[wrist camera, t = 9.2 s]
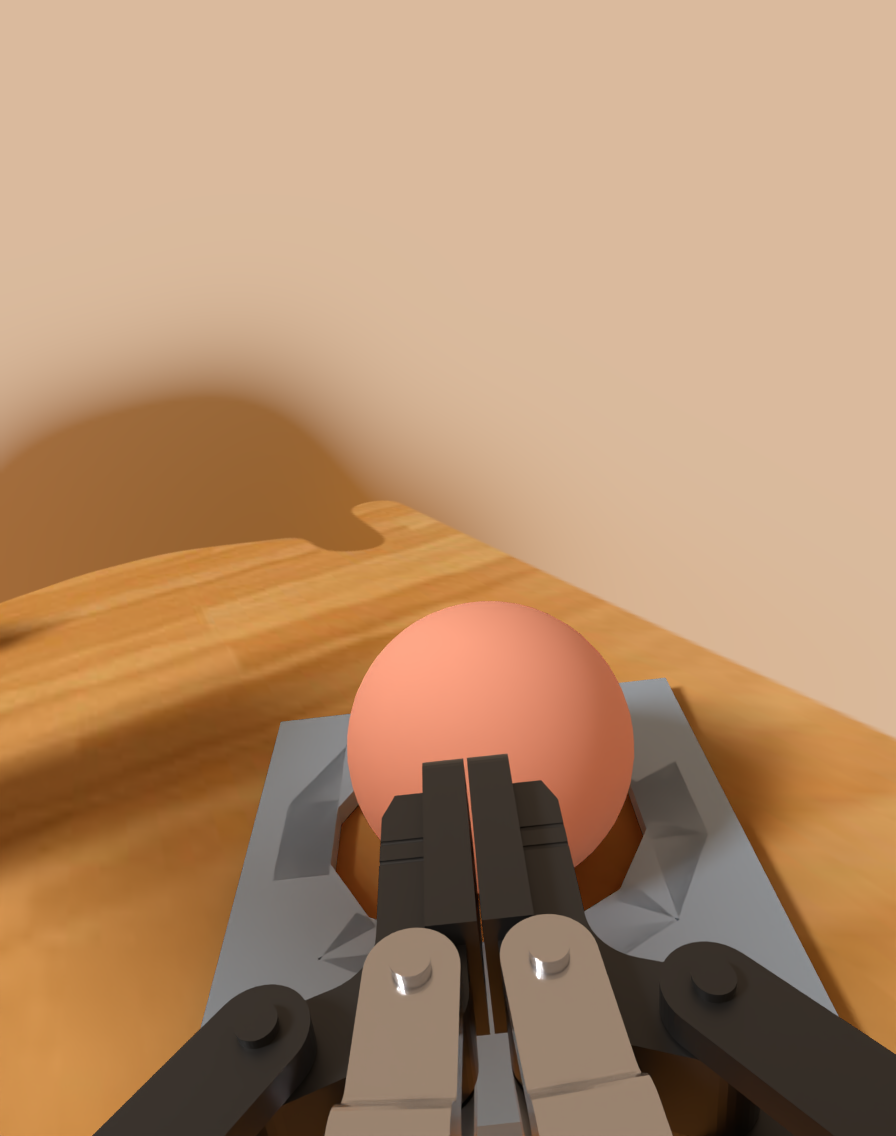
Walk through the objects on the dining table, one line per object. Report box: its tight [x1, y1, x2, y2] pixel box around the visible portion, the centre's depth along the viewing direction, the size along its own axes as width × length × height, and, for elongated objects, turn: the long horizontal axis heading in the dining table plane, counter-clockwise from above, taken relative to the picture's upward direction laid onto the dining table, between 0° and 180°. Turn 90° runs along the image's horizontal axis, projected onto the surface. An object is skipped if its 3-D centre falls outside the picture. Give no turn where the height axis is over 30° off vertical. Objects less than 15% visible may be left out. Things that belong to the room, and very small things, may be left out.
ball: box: [347, 601, 634, 894], centre depth 36 cm, size 12×12×12 cm
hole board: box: [200, 678, 839, 1136], centre depth 37 cm, size 24×22×1 cm
